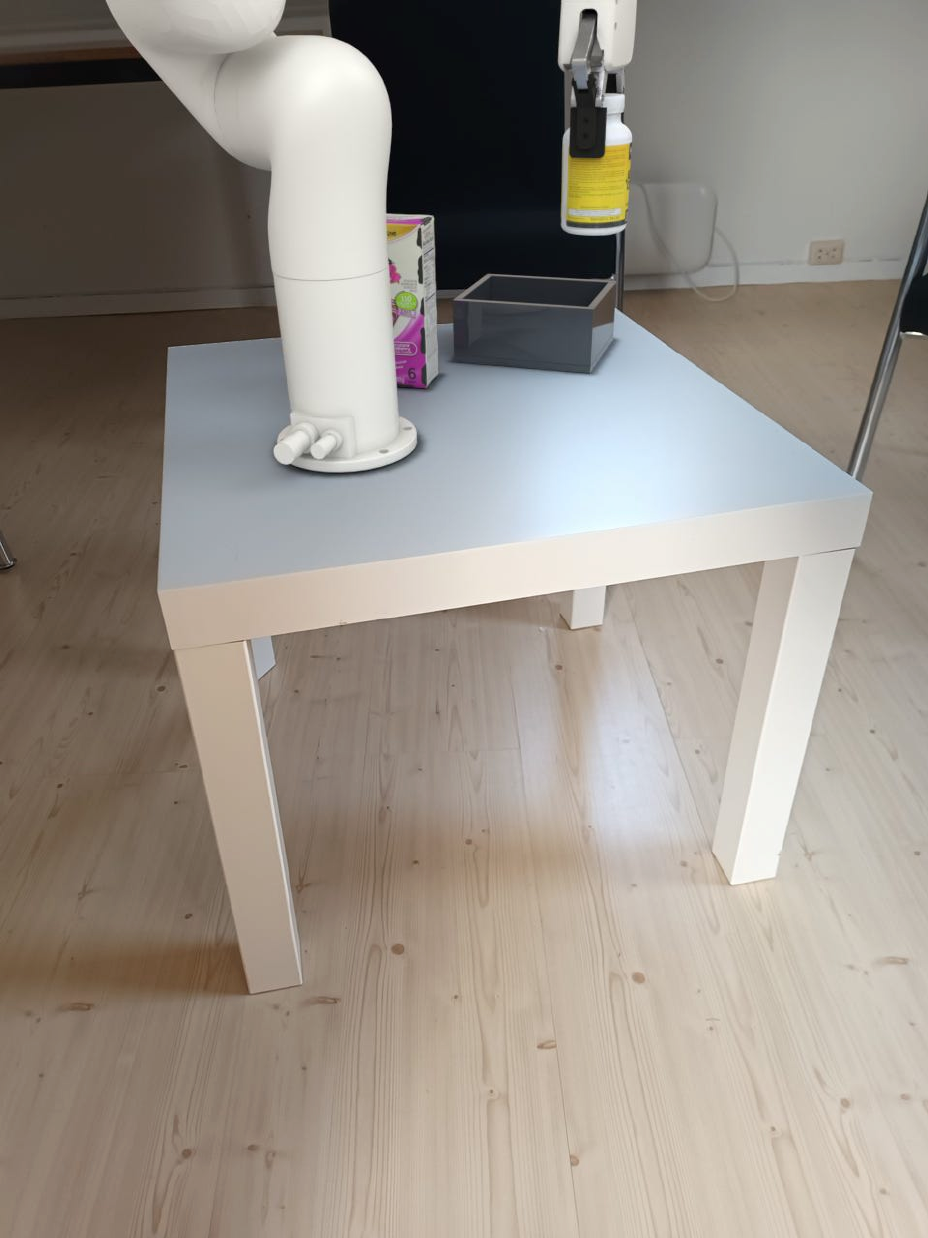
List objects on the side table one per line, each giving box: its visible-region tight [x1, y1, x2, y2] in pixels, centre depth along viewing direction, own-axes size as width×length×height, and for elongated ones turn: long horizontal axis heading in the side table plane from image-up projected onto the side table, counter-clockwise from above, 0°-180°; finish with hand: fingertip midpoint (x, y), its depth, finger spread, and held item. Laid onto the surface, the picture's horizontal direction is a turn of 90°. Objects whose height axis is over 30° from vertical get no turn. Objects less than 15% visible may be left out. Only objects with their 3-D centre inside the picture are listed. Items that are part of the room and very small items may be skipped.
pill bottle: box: [560, 93, 633, 237], centre depth 87 cm, size 6×6×12 cm
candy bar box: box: [386, 213, 440, 389], centre depth 95 cm, size 11×5×16 cm, turn 76°
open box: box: [452, 273, 617, 374], centre depth 105 cm, size 13×16×7 cm
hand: (596, 150), depth 87 cm, fingers closed on pill bottle, 6 cm apart
